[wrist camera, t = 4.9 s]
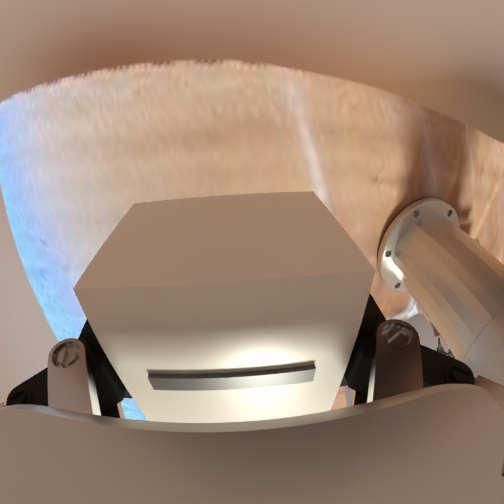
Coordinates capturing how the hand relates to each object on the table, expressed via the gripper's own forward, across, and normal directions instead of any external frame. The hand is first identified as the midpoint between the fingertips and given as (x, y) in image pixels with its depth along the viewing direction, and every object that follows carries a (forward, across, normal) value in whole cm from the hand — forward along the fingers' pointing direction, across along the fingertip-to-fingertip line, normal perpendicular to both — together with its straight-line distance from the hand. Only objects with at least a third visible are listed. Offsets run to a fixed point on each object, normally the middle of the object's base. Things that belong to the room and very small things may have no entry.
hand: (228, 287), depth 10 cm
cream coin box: (+1, 0, 0) cm, 1 cm away
